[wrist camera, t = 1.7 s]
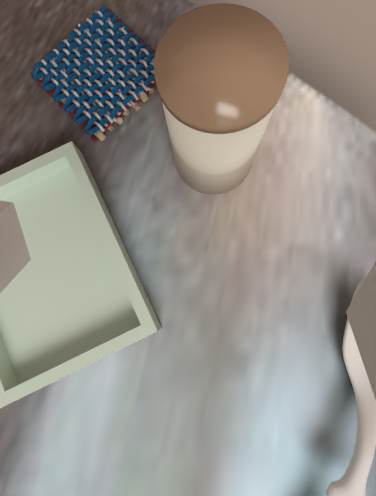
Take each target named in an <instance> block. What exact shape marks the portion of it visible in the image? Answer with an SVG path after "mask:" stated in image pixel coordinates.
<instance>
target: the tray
mask: <svg viewBox="0 0 376 496" xmlns="http://www.w3.org/2000/svg"><path fill="white" fill-rule="evenodd" d="M0 201H6V202H13V203H14V206H15V209H16V212H17V215H18V219H19V222H20V225H21V228H22V232H23V235H24V238H25V241H26V245H27V248H28V251H29V255H30V258H31V260H30V261H29V262H28V263H27V265H26V266H25V267H24V268H23V269H22V270H21V271H20V272H19V273H18V274H17V276H16V277H15V278H14V279H13V280H12V281H11V282H10V283H9V284H8V286H7V287H6V288H5V289H4V290H3V291H2V292H1V293H0V408H2V407H4V406H6V405H8V404H10V403H12V402H14V401H16V400H18V399H20V398H22V397H24V396H26V395H28V394H30V393H32V392H34V391H36V390H38V389H40V388H42V387H44V386H47V385H49V384H51V383H53V382H55V381H57V380H59V379H61V378H63V377H65V376H67V375H69V374H71V373H73V372H75V371H77V370H79V369H81V368H83V367H85V366H87V365H89V364H92V363H94V362H96V361H98V360H100V359H102V358H104V357H106V356H108V355H110V354H112V353H114V352H116V351H118V350H120V349H122V348H124V347H126V346H128V345H130V344H132V343H134V342H136V341H139V340H141V339H143V338H145V337H147V336H149V335H151V334H153V333H155V332H157V331H158V330H159V329H160V328H162V327H161V324H160V322H159V320H158V318H157V316H156V313H155V311H154V309H153V307H152V305H151V302H150V300H149V298H148V296H147V294H146V292H145V289H144V287H143V285H142V283H141V281H140V278H139V276H138V274H137V272H136V270H135V267H134V265H133V263H132V261H131V259H130V256H129V254H128V252H127V250H126V248H125V245H124V243H123V241H122V239H121V237H120V234H119V232H118V230H117V228H116V226H115V223H114V221H113V219H112V217H111V215H110V212H109V210H108V208H107V206H106V204H105V201H104V199H103V197H102V195H101V193H100V190H99V188H98V186H97V184H96V182H95V180H94V177H93V175H92V173H91V171H90V169H89V166H88V164H87V162H86V160H85V158H84V155H83V153H82V152H81V151H80V150H79V149H78V148H77V147H76V146H75V144H74V143H73V142H72V141H71V142H69V143H67V144H65V145H62V146H60V147H58V148H56V149H54V150H52V151H50V152H48V153H46V154H44V155H42V156H39V157H37V158H35V159H33V160H31V161H29V162H27V163H25V164H23V165H21V166H18V167H16V168H14V169H12V170H10V171H8V172H6V173H4V174H2V175H0Z"/></svg>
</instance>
